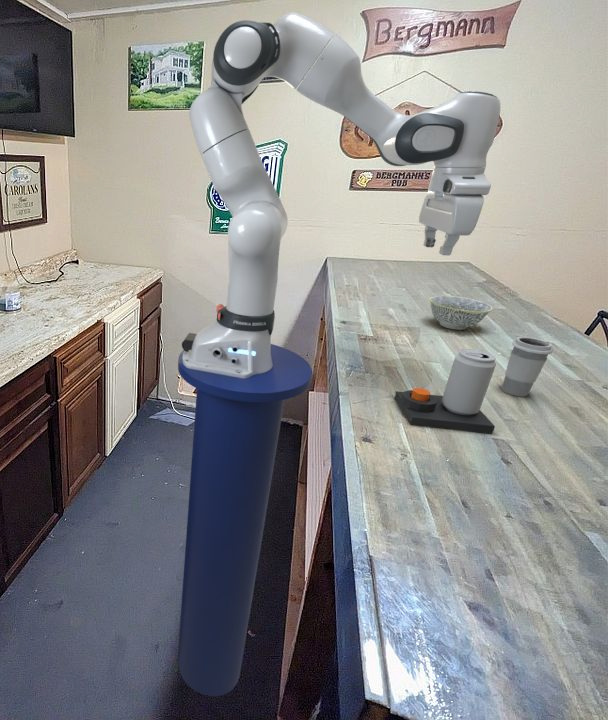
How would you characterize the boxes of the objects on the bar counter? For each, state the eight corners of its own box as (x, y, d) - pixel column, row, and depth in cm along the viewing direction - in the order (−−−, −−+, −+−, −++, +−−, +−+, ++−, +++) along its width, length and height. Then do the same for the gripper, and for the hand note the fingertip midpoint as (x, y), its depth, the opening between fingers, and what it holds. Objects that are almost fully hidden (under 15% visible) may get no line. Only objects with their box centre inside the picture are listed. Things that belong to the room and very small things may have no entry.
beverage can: (479, 420, 87) (501, 363, 82) (440, 411, 90) (458, 356, 85) (476, 406, 92) (496, 351, 87) (439, 398, 95) (456, 345, 90)
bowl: (480, 322, 144) (487, 299, 141) (489, 338, 131) (497, 314, 128) (421, 315, 151) (427, 293, 148) (424, 329, 138) (431, 306, 135)
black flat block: (408, 424, 89) (412, 408, 88) (392, 397, 99) (395, 383, 98) (492, 433, 86) (498, 417, 85) (467, 405, 96) (472, 390, 95)
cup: (541, 400, 98) (563, 349, 93) (506, 397, 99) (526, 346, 94) (521, 385, 104) (541, 336, 99) (489, 383, 105) (507, 334, 101)
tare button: (413, 401, 91) (415, 393, 90) (408, 394, 94) (411, 386, 93) (430, 403, 91) (432, 395, 90) (425, 396, 93) (427, 388, 92)
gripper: (420, 180, 104) (405, 242, 109) (457, 185, 86) (437, 259, 91) (451, 180, 102) (434, 243, 108) (496, 185, 84) (472, 260, 90)
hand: (436, 250), depth 99 cm, fingers open, 8 cm apart
